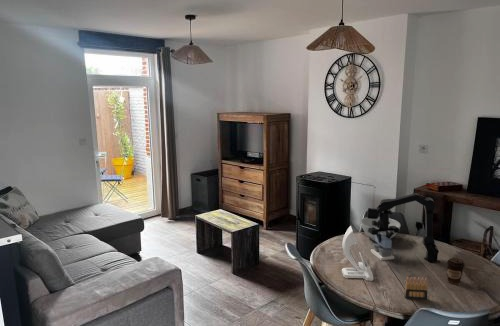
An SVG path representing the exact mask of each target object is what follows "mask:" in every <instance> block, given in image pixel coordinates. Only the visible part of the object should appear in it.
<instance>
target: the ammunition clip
mask: <svg viewBox="0 0 500 326" xmlns="http://www.w3.org/2000/svg"><path fill="white" fill-rule="evenodd" d="M428 285H429V284H428V277H427V276H426V277H425V278H424V276H422V277H420V276H418V278H417V277H416V276H414V277H413V276H410V277H409V275H408V276H407V277H406V282H405V288H404V295H403V296H404V298H405V299H407V300H409V299H411V300H426V301H427V300H428V287H429V286H428Z"/></svg>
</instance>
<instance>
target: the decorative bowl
mask: <svg viewBox="0 0 500 326" xmlns="http://www.w3.org/2000/svg"><path fill="white" fill-rule="evenodd" d="M379 218H380V216H379V217H378V219H367V217H363V218H362V219H361V220H360V225H361V227H362V230H363V231H364V233H365V235H367V236H368V237H369V238H370V239H371V240H372V241H375V235H372V234H370V233H369V232H368V229H369V228H373V227H374V228H376V229H379V228H377V226H376V227H375V226H373V225H372V221H376V222H378V220H379ZM389 222H390V224H389V226H396V227H398V228H399V230H400V228H401V223H400V222H399V221H398V220H396V219H392V218H390V217H389ZM380 233H382V234H384V235H385V236H386V231H384V232H380ZM393 233H394V234H393V235H392V236H391V237H390V239H391V240H392V238H394V237H395V236H396V235H397V234H398V233H395V232H394V231H393ZM375 242H376V241H375Z"/></svg>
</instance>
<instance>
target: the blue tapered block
mask: <svg viewBox="0 0 500 326" xmlns="http://www.w3.org/2000/svg"><path fill="white" fill-rule="evenodd" d="M380 234H381V235H382V236H381V242H380V243H379V242H378V239H377V236H376V235H375V243H376V244H380V245H381V246H382V247H383V248H389V249H390V248H392V242H393V241H392V238H391V239H389V238H388V237H386V236H385V235H384V234H382V233H380Z"/></svg>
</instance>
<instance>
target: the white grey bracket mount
mask: <svg viewBox="0 0 500 326" xmlns="http://www.w3.org/2000/svg"><path fill="white" fill-rule="evenodd" d="M371 245H373V248H372V249H370V252H371V253H372V254H373V255H374V256H376V258H378V259H379V260H380V261H388V260H394V259H395V256H394V255H393V254H392V251H394V248H393V247H391V248H383V247H382V246H381V245H380V244H378V243H375V242H372V243H371Z"/></svg>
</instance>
